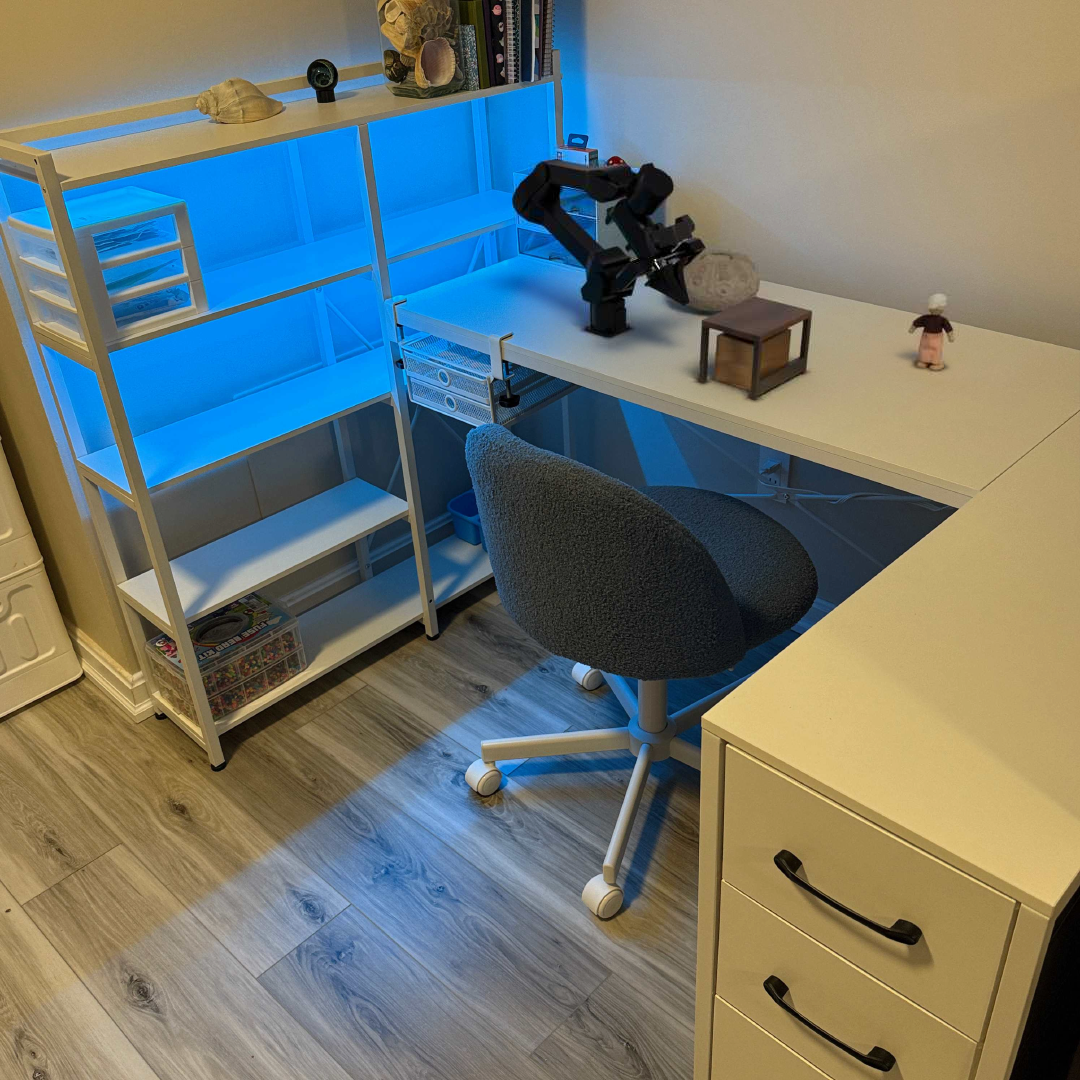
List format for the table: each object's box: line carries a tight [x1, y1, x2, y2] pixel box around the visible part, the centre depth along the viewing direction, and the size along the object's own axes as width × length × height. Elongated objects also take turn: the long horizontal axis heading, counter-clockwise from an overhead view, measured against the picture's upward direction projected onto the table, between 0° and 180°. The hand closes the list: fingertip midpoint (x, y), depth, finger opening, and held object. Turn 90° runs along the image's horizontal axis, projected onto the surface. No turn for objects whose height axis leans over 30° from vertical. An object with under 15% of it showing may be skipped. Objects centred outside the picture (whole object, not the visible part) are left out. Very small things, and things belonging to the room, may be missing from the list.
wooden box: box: [714, 328, 792, 392], centre depth 177 cm, size 8×10×8 cm
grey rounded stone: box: [683, 249, 761, 313], centre depth 207 cm, size 18×18×10 cm
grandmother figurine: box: [907, 293, 956, 371], centre depth 177 cm, size 8×4×13 cm, turn 65°
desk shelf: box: [698, 295, 813, 401], centre depth 176 cm, size 12×15×11 cm
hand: (686, 304), depth 183 cm, fingers closed
